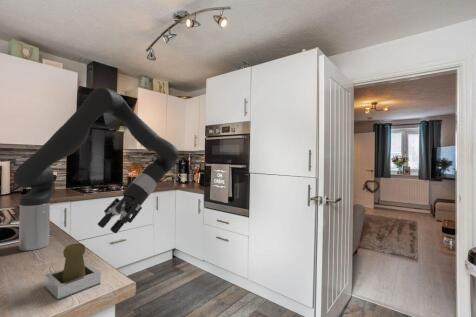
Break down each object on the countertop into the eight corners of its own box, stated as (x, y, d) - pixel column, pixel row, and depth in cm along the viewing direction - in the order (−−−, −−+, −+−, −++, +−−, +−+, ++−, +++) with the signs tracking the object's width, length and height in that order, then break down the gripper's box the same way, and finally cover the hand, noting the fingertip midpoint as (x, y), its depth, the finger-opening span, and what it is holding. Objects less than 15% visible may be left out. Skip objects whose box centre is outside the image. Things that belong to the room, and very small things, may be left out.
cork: (81, 275, 73) (82, 239, 73) (89, 282, 70) (90, 244, 69) (57, 283, 68) (58, 245, 68) (65, 291, 65) (65, 250, 65)
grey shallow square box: (44, 286, 67) (44, 274, 67) (85, 272, 76) (85, 262, 76) (57, 300, 61) (57, 287, 61) (100, 283, 70) (100, 272, 70)
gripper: (122, 180, 87) (87, 218, 78) (145, 183, 78) (108, 226, 69) (136, 193, 91) (104, 230, 82) (158, 198, 83) (126, 240, 73)
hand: (106, 228), depth 76 cm, fingers open, 8 cm apart
